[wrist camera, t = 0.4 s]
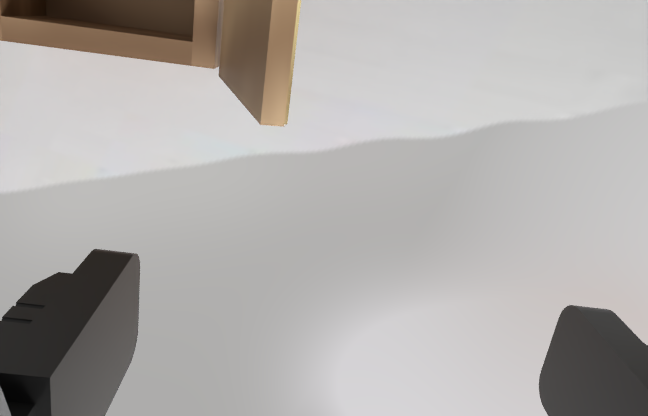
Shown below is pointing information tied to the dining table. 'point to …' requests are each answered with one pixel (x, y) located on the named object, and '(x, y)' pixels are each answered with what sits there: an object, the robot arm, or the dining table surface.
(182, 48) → the box
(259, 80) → the lid
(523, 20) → the dining table surface
